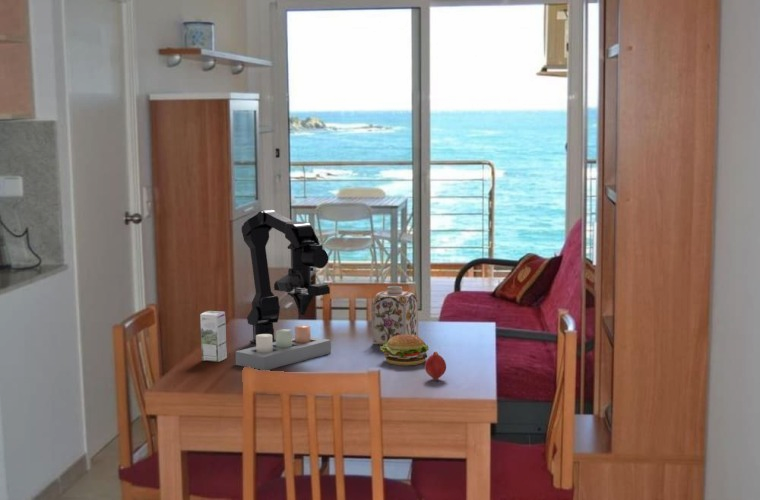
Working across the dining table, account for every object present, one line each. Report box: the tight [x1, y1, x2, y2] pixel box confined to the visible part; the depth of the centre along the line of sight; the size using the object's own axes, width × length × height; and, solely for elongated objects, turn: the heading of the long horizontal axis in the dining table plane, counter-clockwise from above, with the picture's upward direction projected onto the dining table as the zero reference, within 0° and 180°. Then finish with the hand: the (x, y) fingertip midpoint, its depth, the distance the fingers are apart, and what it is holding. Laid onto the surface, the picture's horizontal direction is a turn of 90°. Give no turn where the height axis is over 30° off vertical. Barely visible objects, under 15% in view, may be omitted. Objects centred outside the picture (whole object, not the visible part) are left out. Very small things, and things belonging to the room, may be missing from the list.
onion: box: [424, 351, 447, 381], centre depth 280 cm, size 6×6×8 cm
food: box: [379, 334, 430, 367], centre depth 301 cm, size 14×14×8 cm
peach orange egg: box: [294, 324, 312, 344], centre depth 313 cm, size 5×5×6 cm
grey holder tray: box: [235, 336, 332, 371], centre depth 307 cm, size 12×28×4 cm, turn 140°
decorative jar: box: [371, 285, 419, 346], centre depth 327 cm, size 12×12×18 cm
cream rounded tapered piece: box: [255, 334, 273, 354], centre depth 301 cm, size 5×5×6 cm
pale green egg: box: [275, 328, 293, 349], centre depth 307 cm, size 5×5×6 cm
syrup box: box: [199, 310, 228, 363], centre depth 307 cm, size 6×6×14 cm
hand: (302, 315), depth 312 cm, fingers closed
